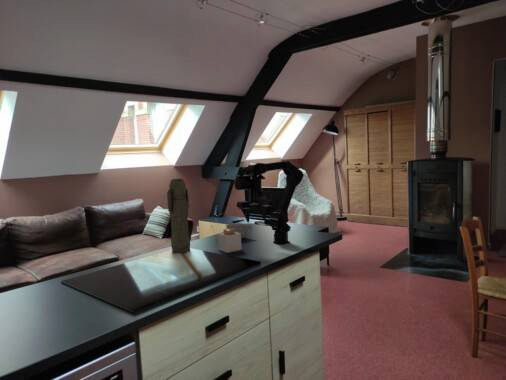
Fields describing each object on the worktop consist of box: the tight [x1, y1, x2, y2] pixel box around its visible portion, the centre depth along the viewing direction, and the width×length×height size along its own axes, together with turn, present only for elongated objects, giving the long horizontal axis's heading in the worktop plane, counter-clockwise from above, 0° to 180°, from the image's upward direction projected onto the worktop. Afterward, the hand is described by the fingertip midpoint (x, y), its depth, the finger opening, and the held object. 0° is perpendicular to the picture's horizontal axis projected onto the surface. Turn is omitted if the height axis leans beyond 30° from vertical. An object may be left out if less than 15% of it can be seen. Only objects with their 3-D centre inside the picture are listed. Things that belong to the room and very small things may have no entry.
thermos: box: [166, 178, 191, 254], centre depth 185 cm, size 9×12×35 cm
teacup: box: [225, 222, 253, 240], centre depth 210 cm, size 14×11×8 cm
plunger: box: [222, 228, 235, 234], centre depth 186 cm, size 6×6×7 cm
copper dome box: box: [217, 232, 242, 254], centre depth 187 cm, size 8×10×8 cm
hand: (256, 221), depth 187 cm, fingers open, 9 cm apart
